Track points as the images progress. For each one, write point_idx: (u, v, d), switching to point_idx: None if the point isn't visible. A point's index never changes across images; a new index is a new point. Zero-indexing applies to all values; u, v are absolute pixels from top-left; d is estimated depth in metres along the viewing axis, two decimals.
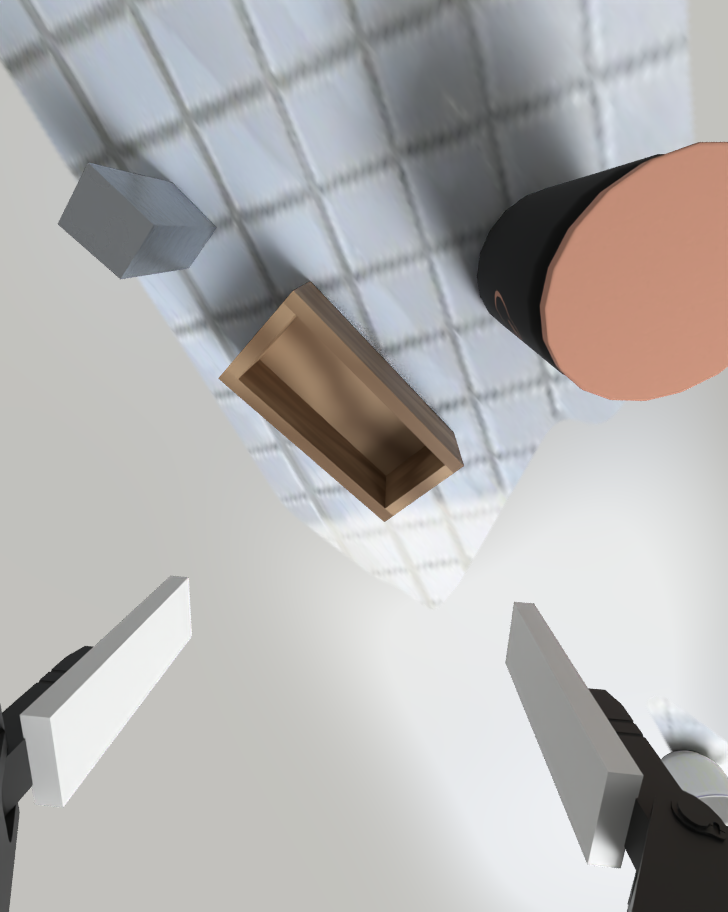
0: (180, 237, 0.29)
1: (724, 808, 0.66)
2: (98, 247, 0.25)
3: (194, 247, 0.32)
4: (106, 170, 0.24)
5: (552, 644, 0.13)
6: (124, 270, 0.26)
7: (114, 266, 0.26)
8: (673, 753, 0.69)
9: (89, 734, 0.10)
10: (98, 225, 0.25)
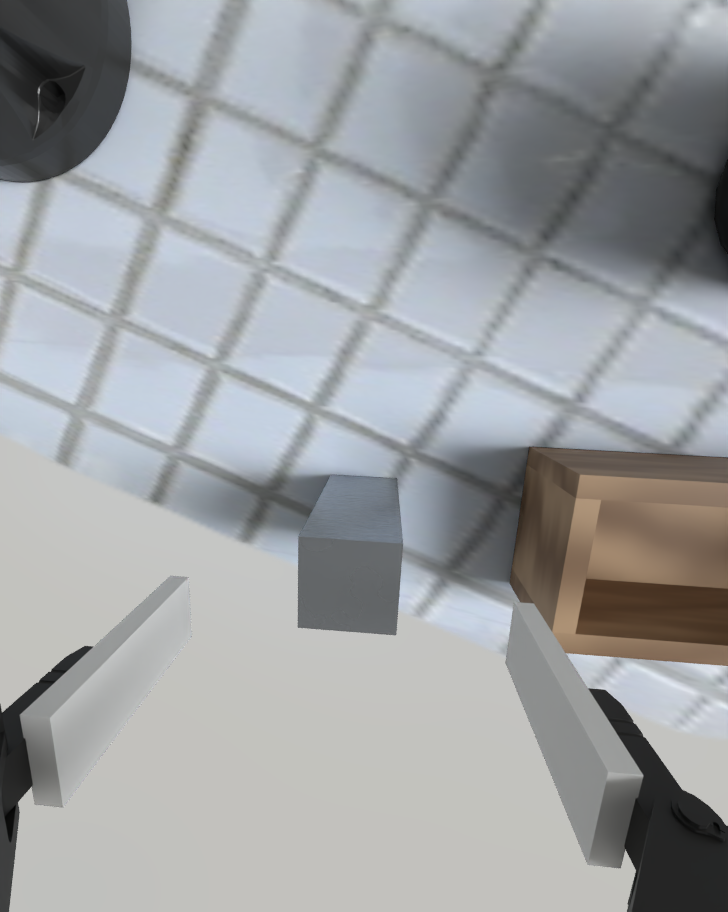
0: None
1: None
2: (352, 618, 0.17)
3: None
4: (311, 526, 0.18)
5: (552, 644, 0.13)
6: (395, 621, 0.17)
7: (381, 625, 0.17)
8: None
9: (89, 734, 0.10)
10: (341, 594, 0.17)
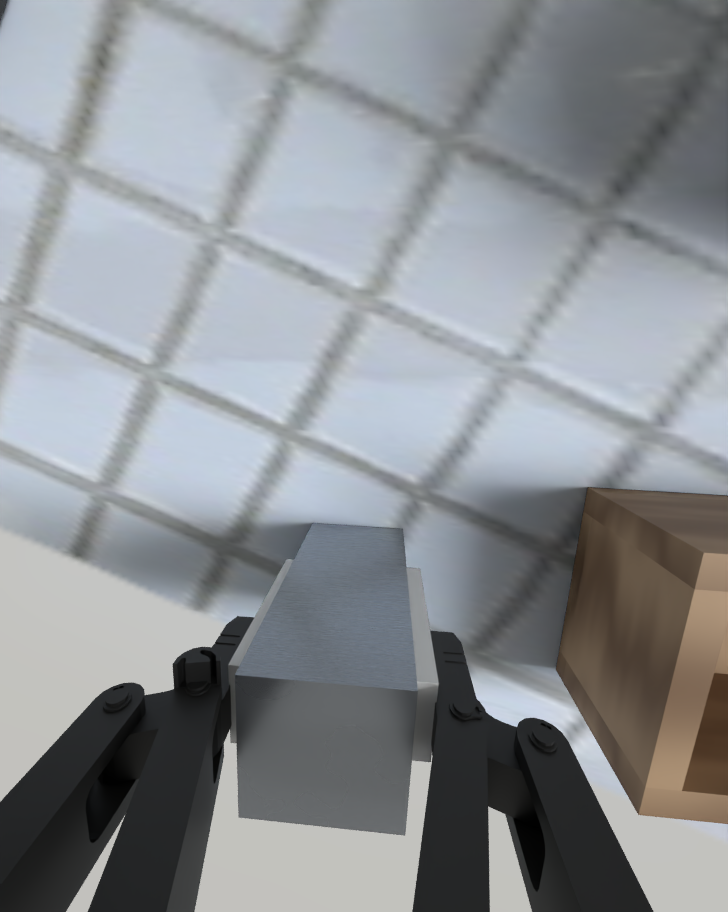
0: None
1: None
2: (331, 807, 0.10)
3: None
4: (263, 643, 0.11)
5: (418, 597, 0.15)
6: (404, 814, 0.10)
7: (380, 820, 0.10)
8: None
9: None
10: (311, 769, 0.10)
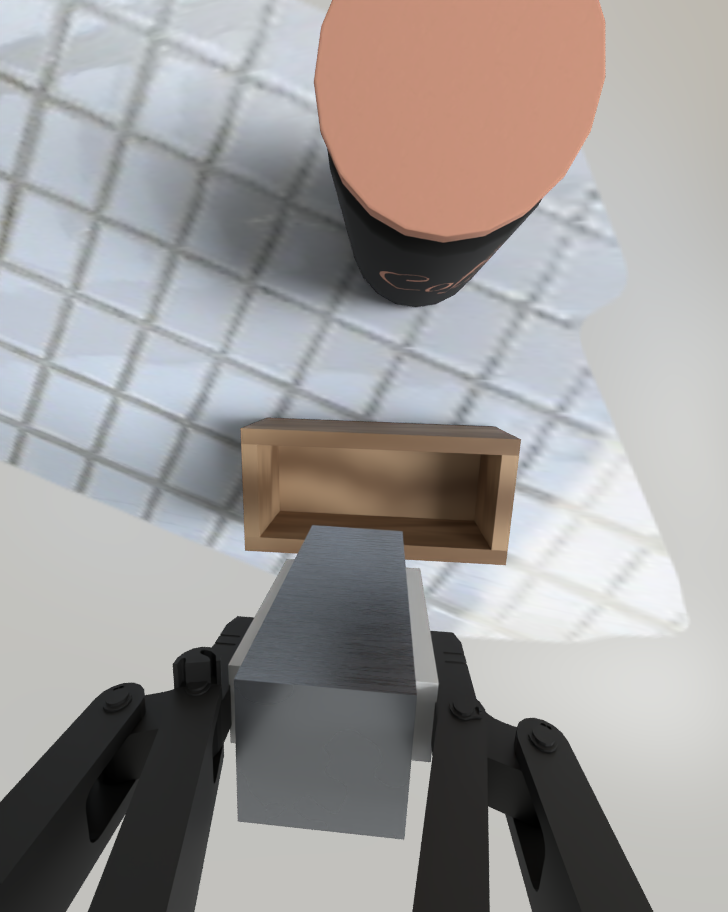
0: None
1: None
2: (329, 811, 0.10)
3: None
4: (262, 646, 0.11)
5: (418, 598, 0.15)
6: (403, 818, 0.10)
7: (379, 824, 0.10)
8: None
9: None
10: (310, 772, 0.10)
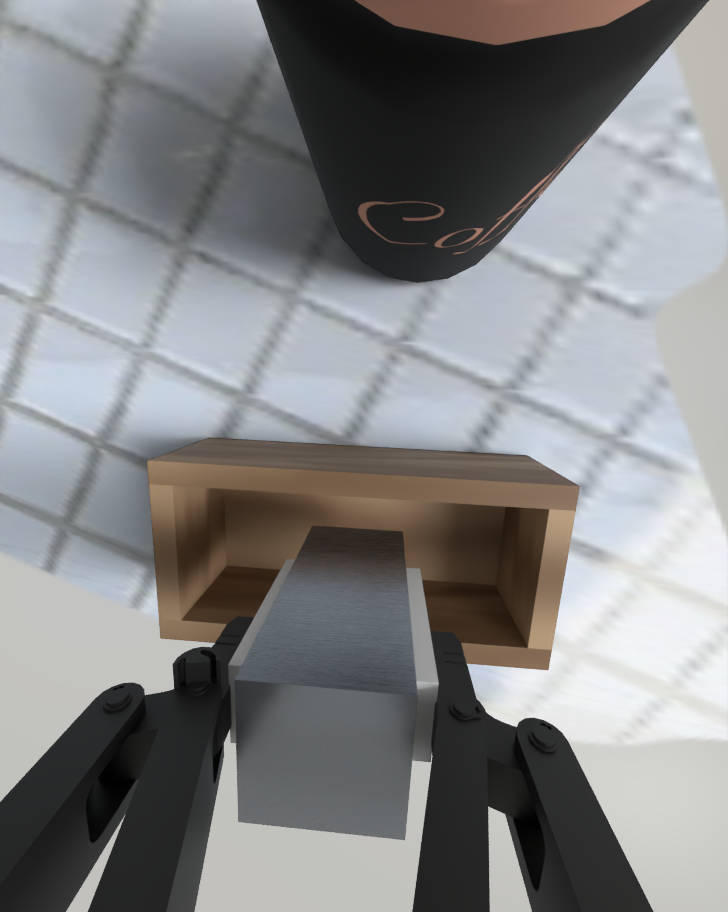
0: None
1: None
2: (331, 811, 0.10)
3: None
4: (263, 647, 0.11)
5: (418, 597, 0.15)
6: (404, 819, 0.10)
7: (380, 824, 0.10)
8: None
9: None
10: (310, 773, 0.10)
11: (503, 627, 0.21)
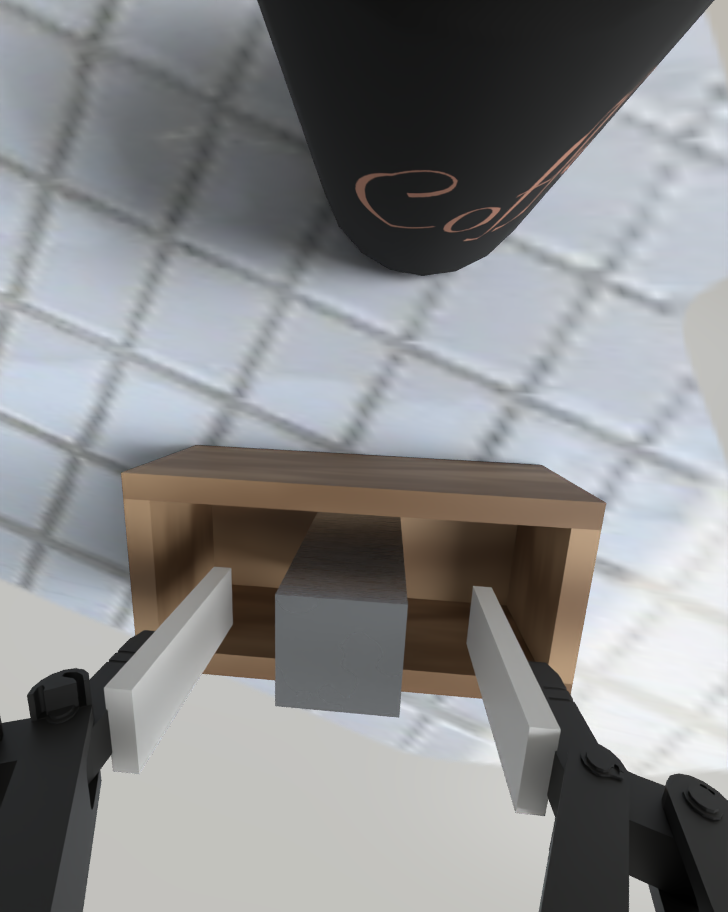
0: None
1: None
2: (344, 696, 0.14)
3: None
4: (293, 577, 0.14)
5: (501, 622, 0.14)
6: (398, 700, 0.14)
7: (380, 705, 0.14)
8: None
9: (158, 708, 0.11)
10: (329, 666, 0.14)
11: None
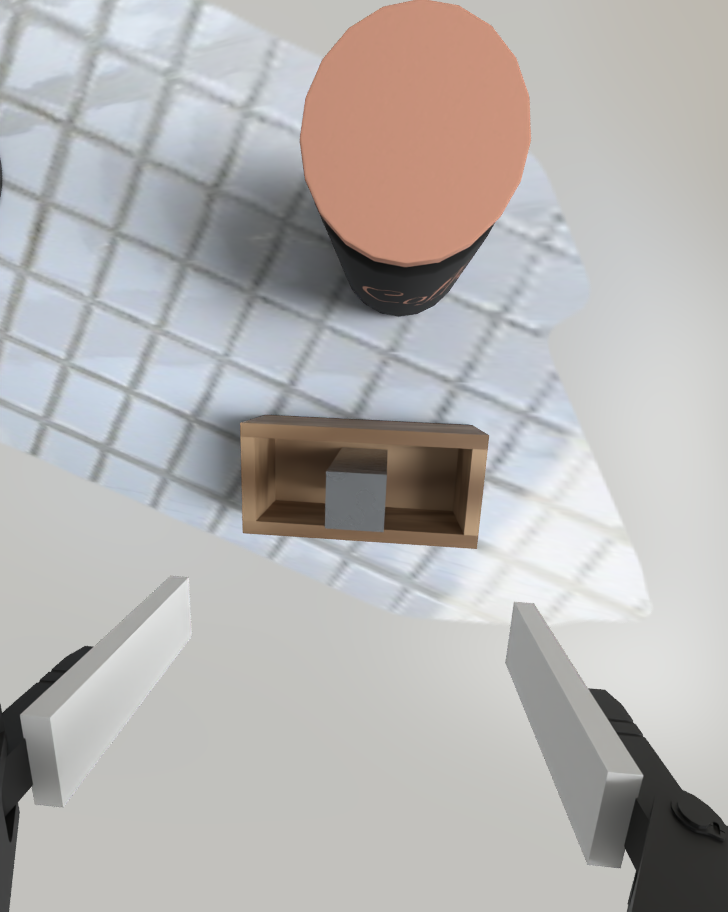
0: None
1: None
2: (357, 522, 0.29)
3: None
4: (333, 467, 0.30)
5: (552, 644, 0.13)
6: (383, 523, 0.29)
7: (375, 526, 0.29)
8: None
9: (89, 734, 0.10)
10: (350, 506, 0.29)
11: (452, 527, 0.35)
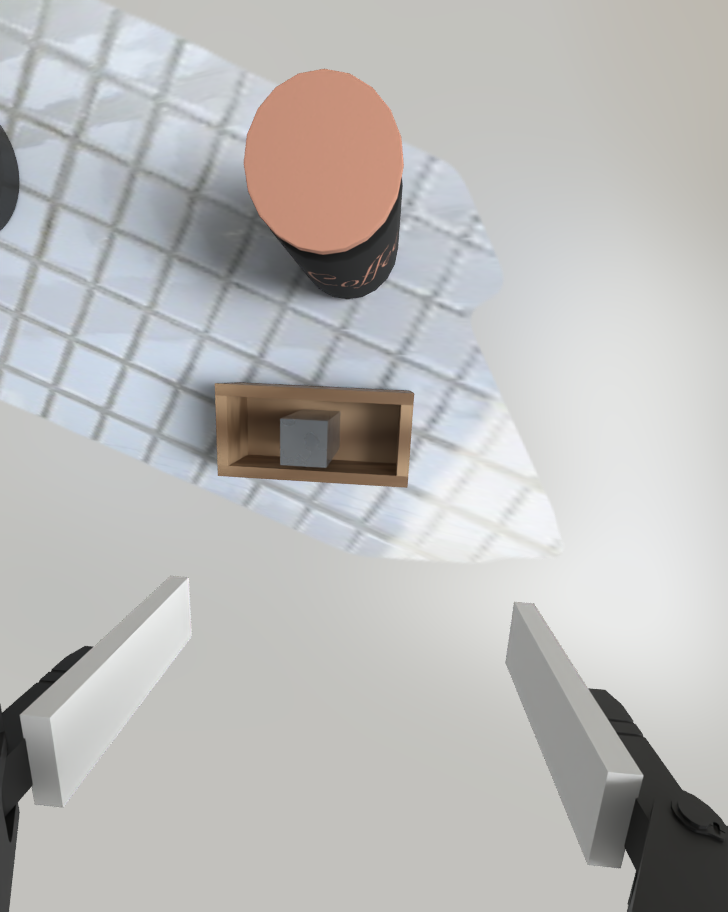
0: (334, 425, 0.41)
1: None
2: (305, 459, 0.37)
3: (338, 430, 0.45)
4: (287, 417, 0.37)
5: (552, 644, 0.13)
6: (325, 460, 0.37)
7: (319, 463, 0.37)
8: None
9: (89, 734, 0.10)
10: (300, 447, 0.37)
11: (389, 471, 0.42)
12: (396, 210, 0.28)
